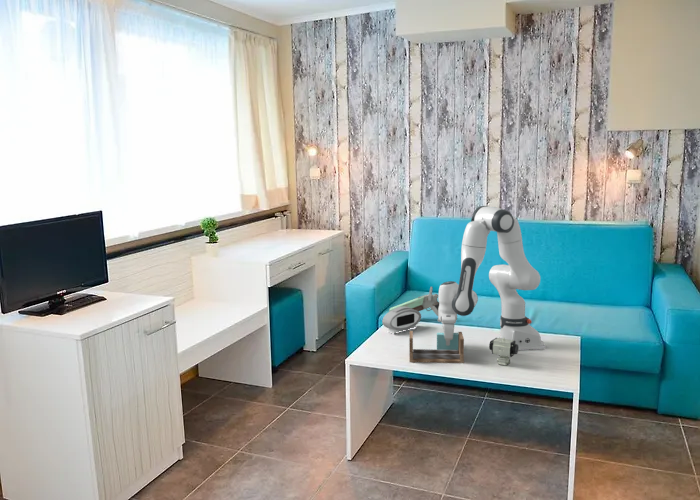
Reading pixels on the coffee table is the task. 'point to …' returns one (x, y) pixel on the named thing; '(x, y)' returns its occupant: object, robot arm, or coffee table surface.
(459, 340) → the cabinet base
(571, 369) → the coffee table surface
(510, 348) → the pneumatic valve
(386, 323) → the alarm clock
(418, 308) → the ray gun
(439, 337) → the door panel
